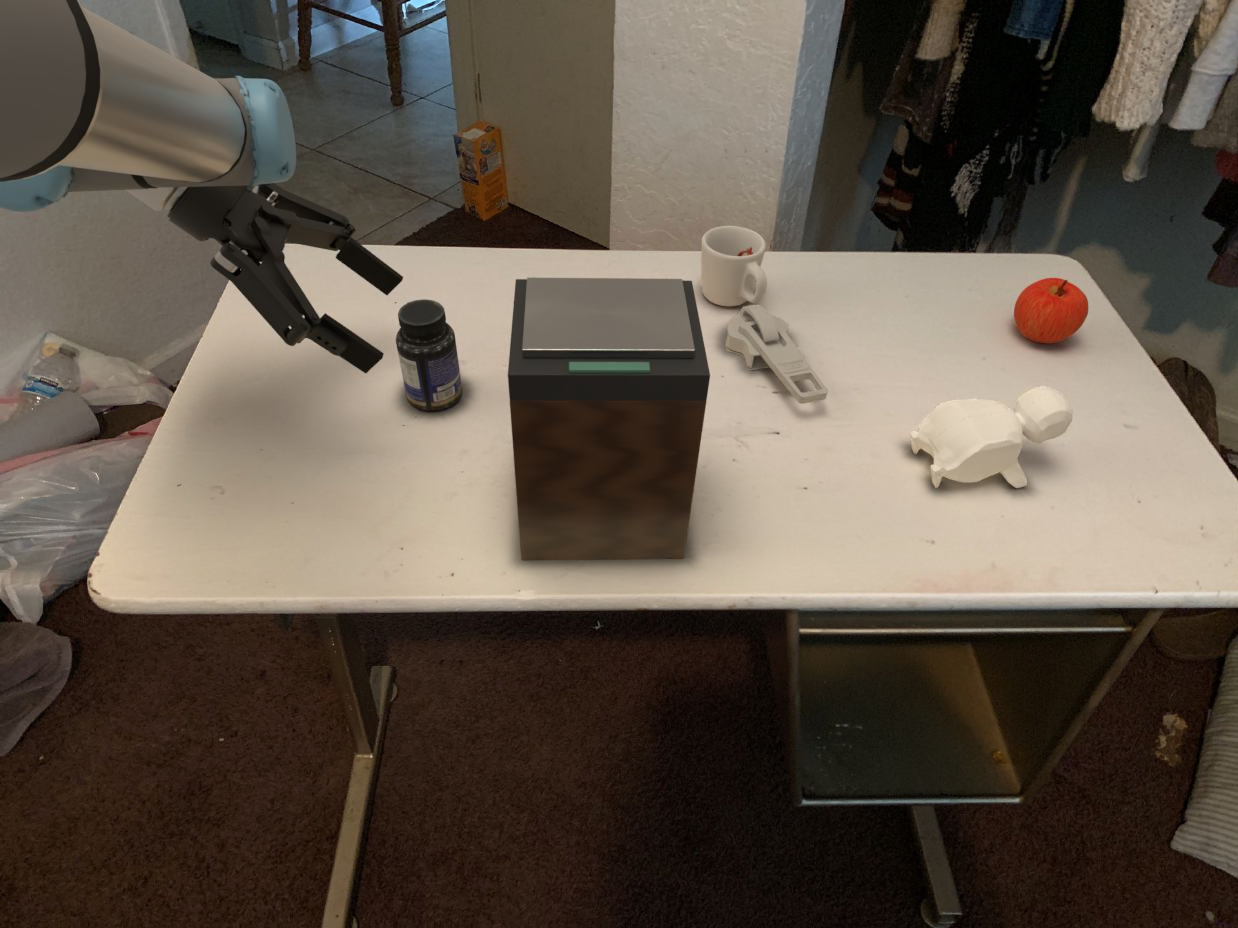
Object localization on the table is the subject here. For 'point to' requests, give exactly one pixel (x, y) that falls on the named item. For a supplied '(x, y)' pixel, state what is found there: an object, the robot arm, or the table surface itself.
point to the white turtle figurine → (989, 434)
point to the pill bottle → (428, 356)
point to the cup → (732, 266)
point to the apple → (1050, 310)
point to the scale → (606, 341)
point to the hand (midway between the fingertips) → (385, 323)
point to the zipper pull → (772, 350)
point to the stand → (605, 477)
